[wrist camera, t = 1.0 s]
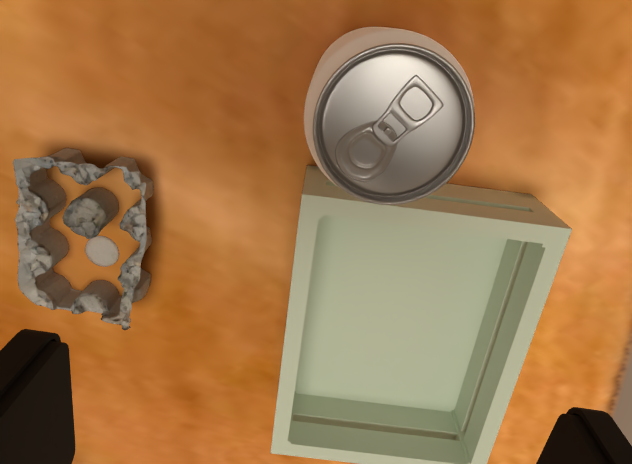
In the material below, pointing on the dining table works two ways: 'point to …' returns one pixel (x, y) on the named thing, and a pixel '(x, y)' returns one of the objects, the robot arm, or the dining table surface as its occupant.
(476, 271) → the tray
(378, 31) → the can
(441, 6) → the dining table surface
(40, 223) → the egg carton
